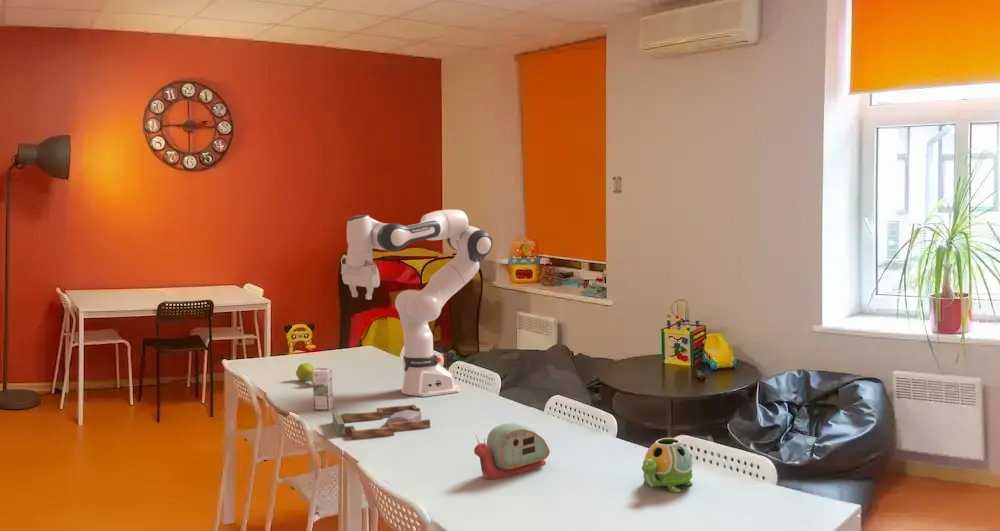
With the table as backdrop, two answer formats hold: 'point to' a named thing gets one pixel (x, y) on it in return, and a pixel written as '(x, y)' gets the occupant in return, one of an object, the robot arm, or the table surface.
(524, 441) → the toy snail
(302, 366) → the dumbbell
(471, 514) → the table surface
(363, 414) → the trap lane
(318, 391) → the syrup box
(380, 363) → the table surface
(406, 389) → the robot arm
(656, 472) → the turtle holder
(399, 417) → the stone block
